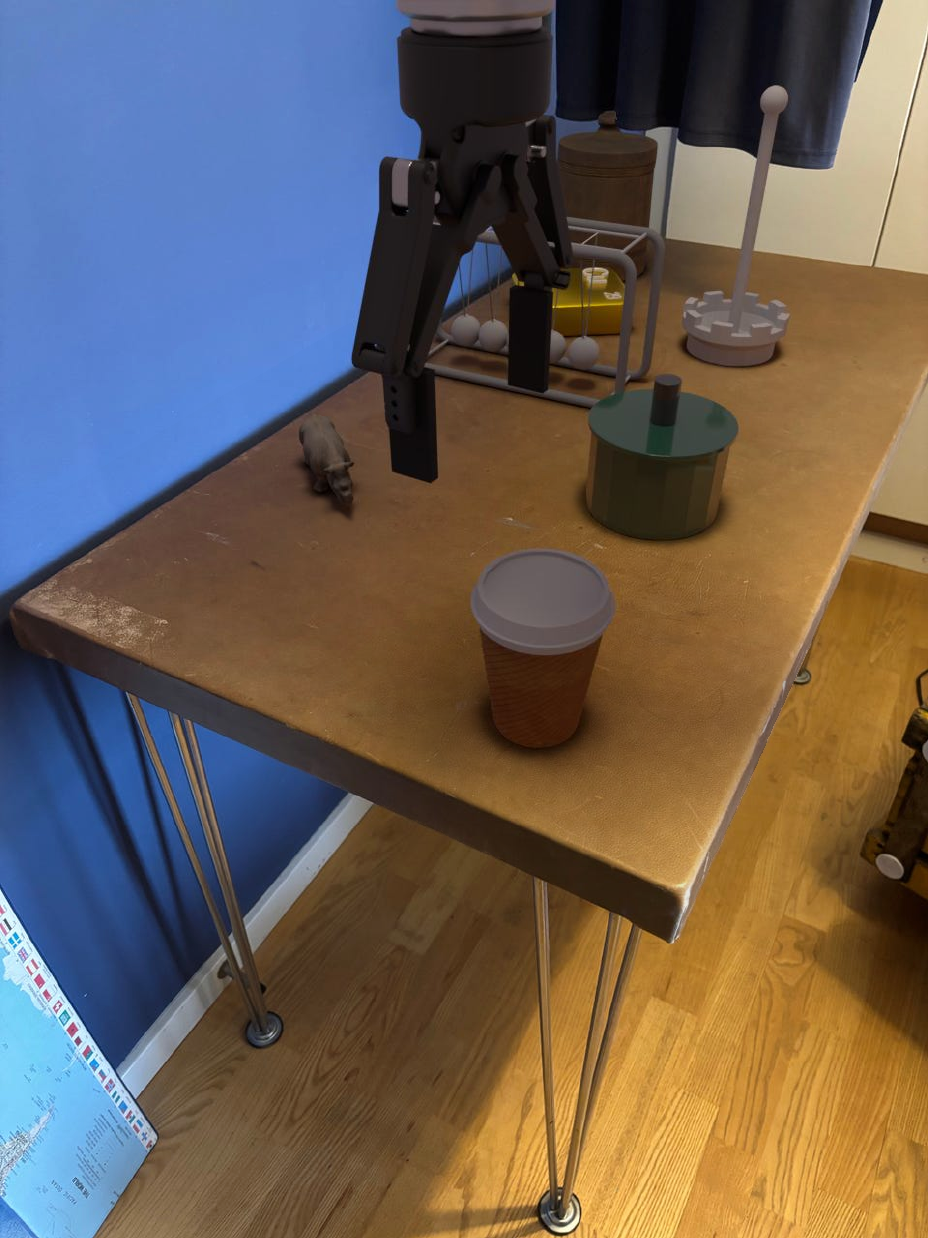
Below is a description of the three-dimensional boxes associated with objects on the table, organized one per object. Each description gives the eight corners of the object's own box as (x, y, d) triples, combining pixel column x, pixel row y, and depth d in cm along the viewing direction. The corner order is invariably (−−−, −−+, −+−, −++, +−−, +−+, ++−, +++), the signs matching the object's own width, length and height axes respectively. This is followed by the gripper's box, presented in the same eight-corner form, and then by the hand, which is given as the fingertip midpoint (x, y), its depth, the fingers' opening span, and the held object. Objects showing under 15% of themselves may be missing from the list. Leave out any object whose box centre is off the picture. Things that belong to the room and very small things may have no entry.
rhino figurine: (329, 526, 87) (322, 471, 83) (297, 460, 97) (289, 408, 93) (370, 518, 88) (366, 462, 84) (334, 453, 98) (329, 401, 94)
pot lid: (761, 425, 85) (772, 373, 82) (692, 483, 77) (702, 429, 74) (634, 387, 92) (640, 337, 89) (558, 437, 84) (562, 385, 80)
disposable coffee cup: (457, 753, 64) (454, 620, 56) (486, 664, 71) (487, 536, 64) (592, 776, 62) (608, 642, 55) (608, 683, 69) (624, 554, 62)
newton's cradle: (650, 381, 111) (669, 229, 100) (620, 415, 104) (637, 256, 93) (436, 338, 122) (432, 197, 111) (395, 367, 115) (387, 219, 104)
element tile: (509, 299, 134) (509, 266, 131) (609, 295, 135) (612, 262, 132) (524, 339, 122) (525, 303, 119) (634, 333, 123) (638, 298, 120)
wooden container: (655, 260, 147) (674, 106, 133) (626, 289, 137) (643, 125, 123) (569, 248, 152) (579, 99, 138) (535, 275, 142) (541, 116, 128)
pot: (738, 498, 90) (755, 419, 85) (677, 556, 82) (691, 473, 77) (628, 460, 96) (637, 384, 91) (561, 510, 89) (566, 431, 83)
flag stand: (788, 371, 113) (851, 96, 94) (682, 367, 114) (722, 95, 96) (773, 331, 123) (826, 76, 104) (675, 328, 125) (710, 75, 106)
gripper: (529, -4, 53) (519, 347, 67) (235, 49, 37) (300, 501, 50) (649, 2, 50) (614, 368, 63) (387, 62, 34) (413, 540, 47)
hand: (475, 428), depth 57 cm, fingers open, 13 cm apart
